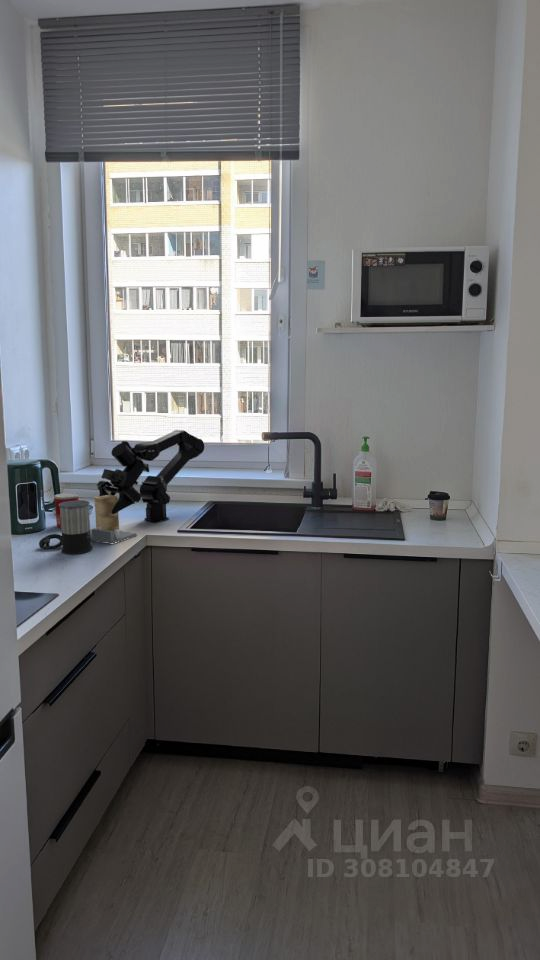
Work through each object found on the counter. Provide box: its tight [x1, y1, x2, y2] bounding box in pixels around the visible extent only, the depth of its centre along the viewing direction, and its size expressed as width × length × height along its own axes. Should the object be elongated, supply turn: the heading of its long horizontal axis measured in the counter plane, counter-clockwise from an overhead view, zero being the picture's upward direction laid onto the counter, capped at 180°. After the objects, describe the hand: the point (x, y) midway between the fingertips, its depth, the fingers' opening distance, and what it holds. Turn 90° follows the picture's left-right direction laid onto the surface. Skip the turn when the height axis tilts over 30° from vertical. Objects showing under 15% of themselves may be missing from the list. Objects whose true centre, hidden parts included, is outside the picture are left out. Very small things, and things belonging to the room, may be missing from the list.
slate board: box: [91, 526, 137, 543], centre depth 241 cm, size 12×9×4 cm
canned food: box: [54, 492, 79, 529], centre depth 258 cm, size 8×8×11 cm
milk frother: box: [38, 499, 94, 555], centre depth 228 cm, size 14×16×15 cm
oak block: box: [93, 495, 120, 531], centre depth 249 cm, size 6×4×12 cm
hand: (104, 511), depth 248 cm, fingers open, 9 cm apart
